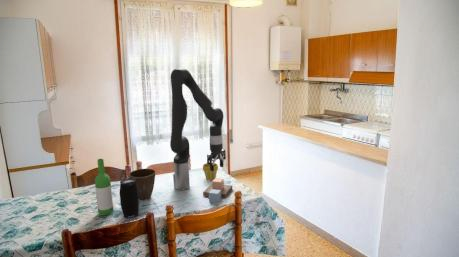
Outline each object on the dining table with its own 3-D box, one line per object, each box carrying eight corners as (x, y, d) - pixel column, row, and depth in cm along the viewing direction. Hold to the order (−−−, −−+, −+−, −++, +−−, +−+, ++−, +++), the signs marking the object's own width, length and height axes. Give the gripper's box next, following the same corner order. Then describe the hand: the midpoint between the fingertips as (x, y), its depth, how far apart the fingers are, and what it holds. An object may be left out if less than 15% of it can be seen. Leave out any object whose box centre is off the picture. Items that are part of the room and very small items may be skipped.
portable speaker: (118, 217, 167) (115, 181, 163) (132, 210, 175) (128, 176, 171) (130, 220, 163) (126, 184, 159) (143, 213, 171) (140, 178, 167)
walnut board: (203, 195, 192) (203, 191, 191) (211, 187, 205) (211, 183, 205) (225, 198, 188) (225, 194, 187) (232, 189, 201) (232, 185, 200)
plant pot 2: (211, 182, 214) (211, 168, 212) (200, 179, 220) (199, 165, 218) (221, 177, 222) (220, 164, 220) (210, 174, 228) (209, 161, 226)
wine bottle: (108, 208, 178) (103, 156, 172) (116, 212, 173) (111, 158, 167) (95, 213, 172) (89, 159, 166) (103, 217, 167) (97, 162, 161)
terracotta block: (212, 189, 194) (212, 181, 193) (215, 186, 199) (215, 178, 198) (221, 190, 193) (220, 182, 192) (223, 187, 198) (223, 179, 197)
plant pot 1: (150, 204, 182) (148, 177, 179) (126, 202, 185) (124, 176, 182) (161, 194, 196) (159, 169, 193) (138, 192, 199) (136, 168, 196)
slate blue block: (209, 201, 184) (208, 192, 183) (212, 197, 189) (212, 189, 188) (218, 202, 182) (217, 193, 181) (221, 198, 187) (220, 190, 186)
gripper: (219, 139, 195) (219, 164, 198) (203, 144, 184) (204, 171, 187) (228, 140, 190) (229, 166, 194) (212, 145, 180) (213, 173, 183)
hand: (216, 168), depth 190 cm, fingers open, 8 cm apart
